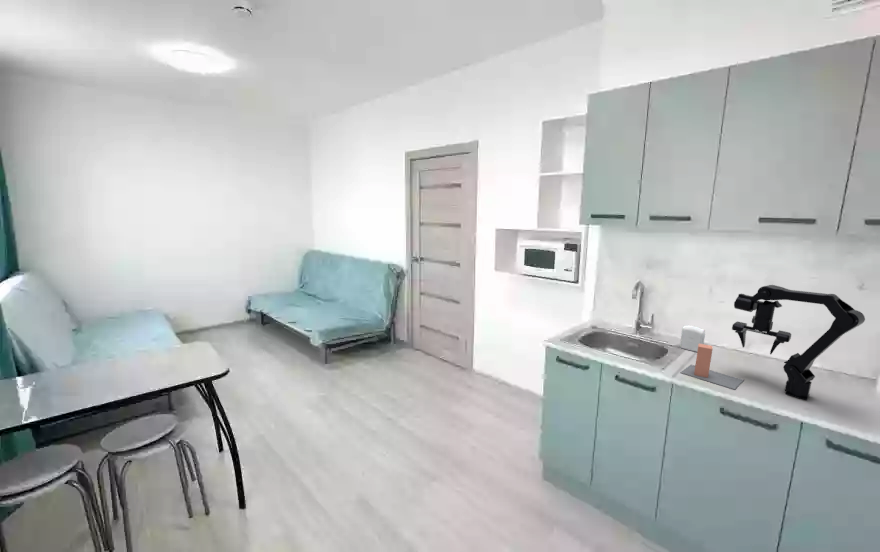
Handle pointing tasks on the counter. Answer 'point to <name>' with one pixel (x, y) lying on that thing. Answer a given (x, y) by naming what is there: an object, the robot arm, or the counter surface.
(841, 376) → the counter surface
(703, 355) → the card box
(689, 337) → the photo printer
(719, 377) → the mat
